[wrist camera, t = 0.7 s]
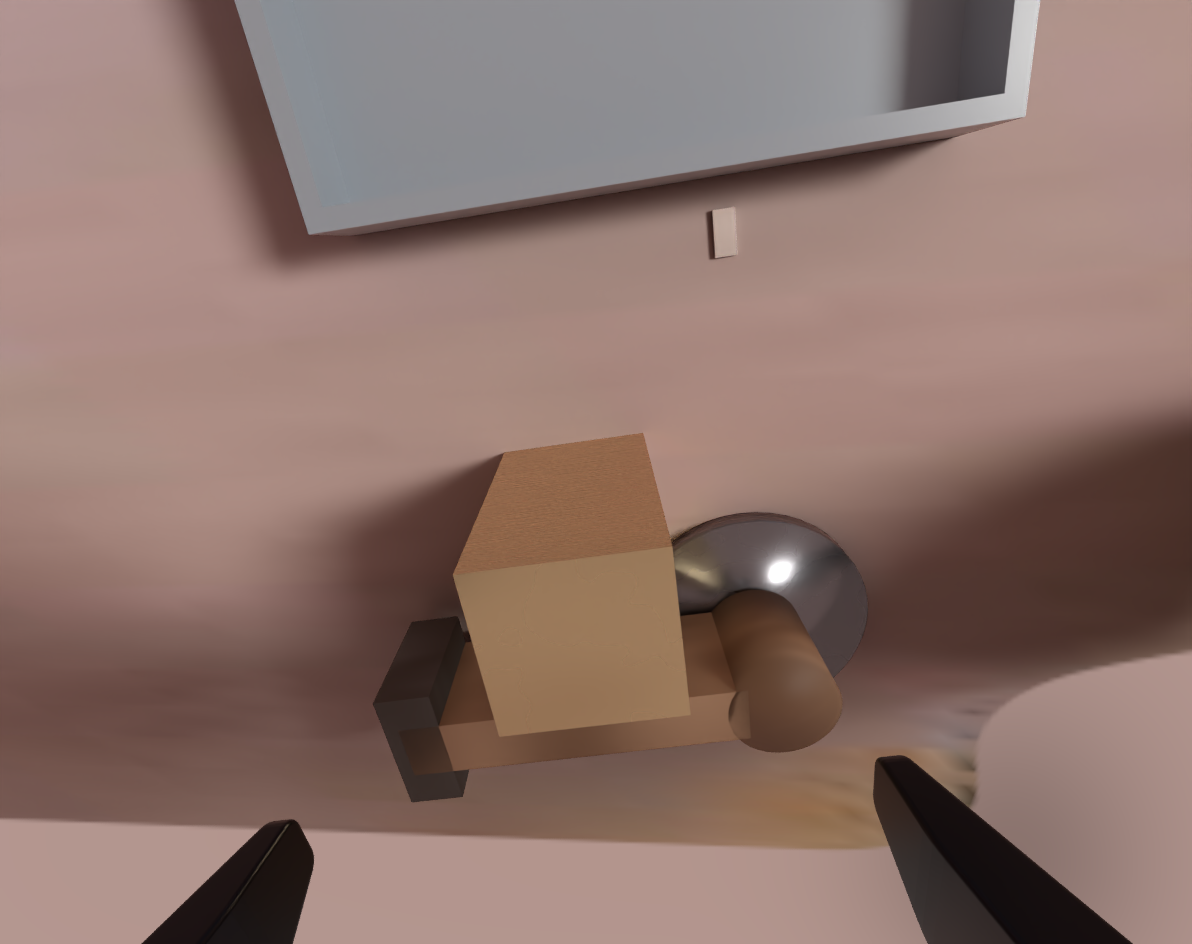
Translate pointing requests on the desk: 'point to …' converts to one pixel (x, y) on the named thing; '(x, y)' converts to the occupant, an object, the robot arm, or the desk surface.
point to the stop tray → (609, 93)
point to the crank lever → (718, 713)
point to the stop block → (574, 590)
